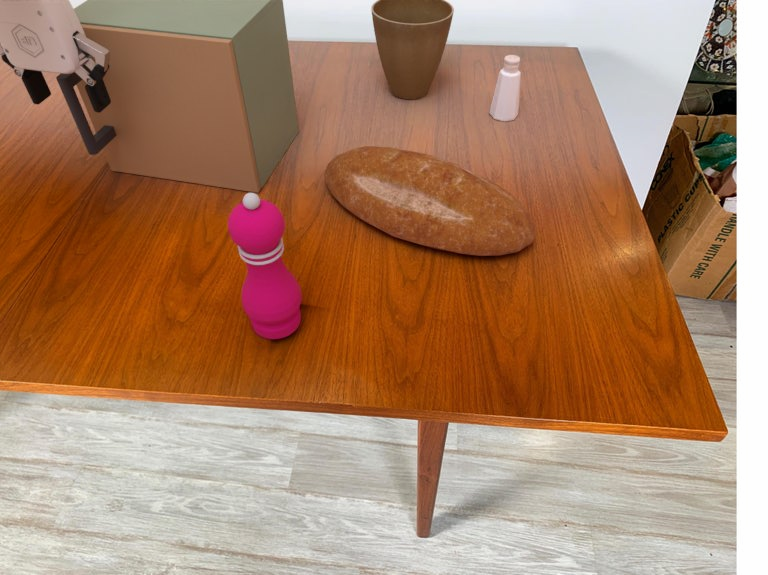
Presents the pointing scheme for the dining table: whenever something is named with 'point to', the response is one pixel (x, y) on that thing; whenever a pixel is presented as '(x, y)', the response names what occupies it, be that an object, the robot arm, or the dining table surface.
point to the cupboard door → (168, 108)
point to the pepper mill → (265, 268)
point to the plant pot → (411, 42)
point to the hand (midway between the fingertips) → (73, 103)
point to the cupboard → (251, 48)
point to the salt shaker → (507, 91)
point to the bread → (429, 201)
